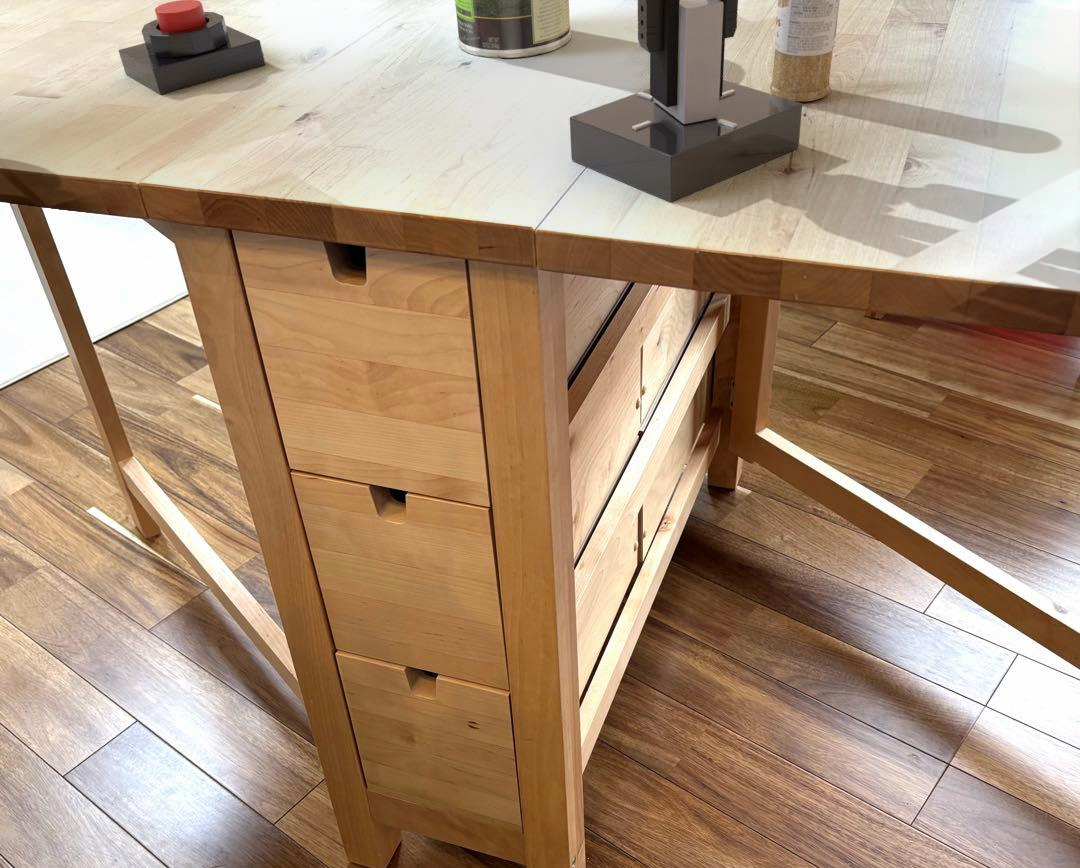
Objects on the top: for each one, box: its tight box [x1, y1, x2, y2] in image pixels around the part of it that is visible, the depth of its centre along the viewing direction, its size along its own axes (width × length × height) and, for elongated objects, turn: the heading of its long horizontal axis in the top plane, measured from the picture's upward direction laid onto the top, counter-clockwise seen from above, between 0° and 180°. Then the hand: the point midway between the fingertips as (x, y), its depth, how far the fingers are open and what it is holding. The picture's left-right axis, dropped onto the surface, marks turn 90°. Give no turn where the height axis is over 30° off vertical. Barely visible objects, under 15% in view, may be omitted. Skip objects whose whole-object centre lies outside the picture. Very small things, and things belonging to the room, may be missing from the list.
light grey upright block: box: [654, 0, 723, 124], centre depth 68 cm, size 5×2×7 cm, turn 19°
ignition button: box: [154, 0, 207, 32], centre depth 91 cm, size 4×4×2 cm
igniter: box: [117, 11, 266, 96], centre depth 93 cm, size 10×8×4 cm
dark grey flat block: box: [569, 79, 803, 203], centre depth 71 cm, size 12×10×3 cm
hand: (685, 94), depth 70 cm, fingers closed on light grey upright block, 2 cm apart
